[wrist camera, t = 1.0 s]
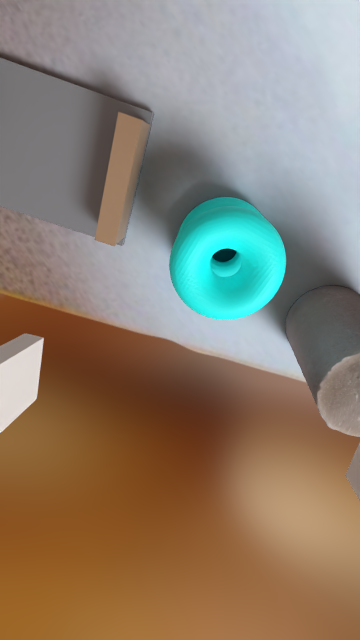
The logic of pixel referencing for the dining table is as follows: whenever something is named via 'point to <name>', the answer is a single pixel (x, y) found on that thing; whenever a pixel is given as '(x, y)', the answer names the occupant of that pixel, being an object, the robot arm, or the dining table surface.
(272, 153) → the dining table surface
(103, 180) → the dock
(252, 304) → the donuts
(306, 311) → the pillar candle
